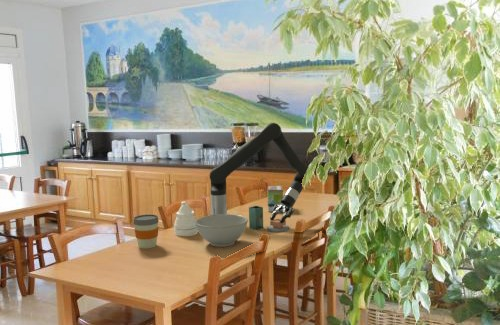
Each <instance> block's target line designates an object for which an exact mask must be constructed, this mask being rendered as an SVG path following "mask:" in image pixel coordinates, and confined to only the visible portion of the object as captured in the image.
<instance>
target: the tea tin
mask: <svg viewBox="0 0 500 325" xmlns="http://www.w3.org/2000/svg"><path fill="white" fill-rule="evenodd" d="M248 221H249V222H248V225H249V226H248V227H249V229H252V230H255V229H256V230H259V229H264V207H263V206H259V205H253V206H248Z"/></svg>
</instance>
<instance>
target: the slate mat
mask: <svg viewBox="0 0 500 325" xmlns="http://www.w3.org/2000/svg"><path fill="white" fill-rule="evenodd" d="M266 230H267V231H268V232H271V233H284V232H288V231H290V230H291V227H290V226H288V225H287V224H286V225H284V226H283V228H279V229H277V228H273V226H272V225H268V226H266Z"/></svg>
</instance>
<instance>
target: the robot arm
mask: <svg viewBox="0 0 500 325" xmlns="http://www.w3.org/2000/svg"><path fill="white" fill-rule="evenodd" d="M272 141H273V143H274V144H275V145H276V146H277V147H278V149H279V151H280V152H281V153H282V155H283V157H284V159H285V161H286V162H287V164H288V165H289V167H290V168H291V169H293V170H295V171H296V174H295V175H294V178H293V180H292V182H291V184H290V185H289V187H288V189H287V190H286V191H285V193H284V194H283V198H282V199H281V203H280V204H279V205H277V204H275V205H274V207H273V209H272V210H271V212H270V213H271V216H270V217H269V221H271V220H275V218H276V216H277V215H279V214H283V215H282V216H281V217H280V219H281V220H280V222H281V223H283V222H284V221H285V220H286V219H290V218H291V216H292V215H293V214H294V212H295V211H296V210H295V208H294V205H295V204H296V202H297V200H298V199H299V197H300V194H301V192H302V191H303V189H304V186H303V187H302V184H301V183H302V179H303V177H304V174H305V172H306V170H307V168H309V167H308V166H307V165H306V164H305V163H304V162H303V161H302V160H301V159H300V157H299V155H298V154H297V152H296V151H295V150H294V148H292V146H291V145H290V143H289V142H288V141H287V139H286V137H285V136H284V133H283V132H282V128H281V126H280V125H279V123H276V122H270V123H268V124H267V125H266V126H265V127H264V128H263V129H262V130H261V131H260V133H258V134H257V135H255V136H254V137H253V138H252V139H249V140H248V141H247V142H245V143H244V144H242V145H240V147H239V148H238V149H236V150H235V151H234V152H233V153H232V154H231V155H230V156H229V158H228V159H227V160H226V161H224V162H223V163H221V164H220V165H219V166H216V167H213V168H212V169H211V171H210V172H209V180H210V206H209V211H210V212H209V214H210V215H219V214H228V210H227V209H228V208H227V207H228V206H227V204H228V203H227V178H228V177H229V176H230V175H231V174H232V173H233V172H235V171H236V170H237V169H240V168H241V167H242V166H243V165H245V164H246V163H247V162H248V161H250V160H251V159H253V158H254V157H255V156H256V155H257V154H258V153H260V151H261V150H262V148H264V147H265V146H266V145H267V144H269V143H270V142H272ZM278 210H279V211H278ZM210 215H209V216H210Z"/></svg>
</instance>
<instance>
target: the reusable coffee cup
mask: <svg viewBox="0 0 500 325" xmlns="http://www.w3.org/2000/svg"><path fill="white" fill-rule="evenodd" d="M133 225H134V233H135V234H134V235H135V238H136V241H137V246H138V248H139V249H151V248H155V247H156V246H157V240H158V236H159V216H158V215H156V214H141V215H136V216H134V217H133Z"/></svg>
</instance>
